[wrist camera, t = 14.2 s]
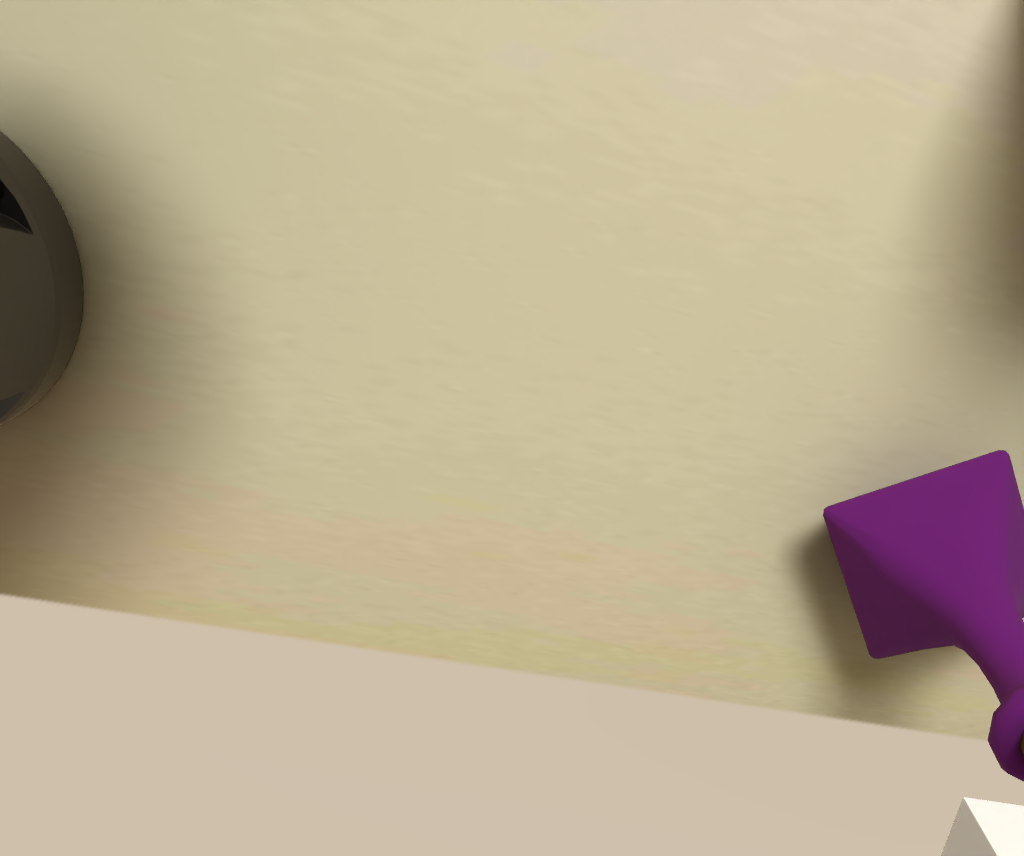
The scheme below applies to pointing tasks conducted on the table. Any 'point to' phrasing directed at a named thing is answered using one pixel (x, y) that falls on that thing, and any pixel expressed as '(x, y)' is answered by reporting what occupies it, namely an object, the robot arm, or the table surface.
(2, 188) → the robot arm
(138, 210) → the table surface
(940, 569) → the perfume bottle
